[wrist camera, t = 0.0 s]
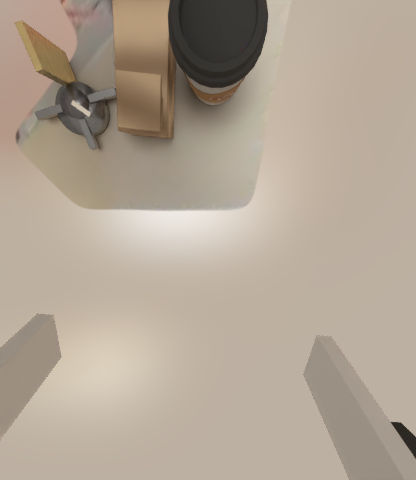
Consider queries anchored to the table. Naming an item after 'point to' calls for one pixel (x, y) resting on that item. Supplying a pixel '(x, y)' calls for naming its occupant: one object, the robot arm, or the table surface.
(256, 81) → the table surface
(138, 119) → the wooden drawer box
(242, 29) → the coffee cup
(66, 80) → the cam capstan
